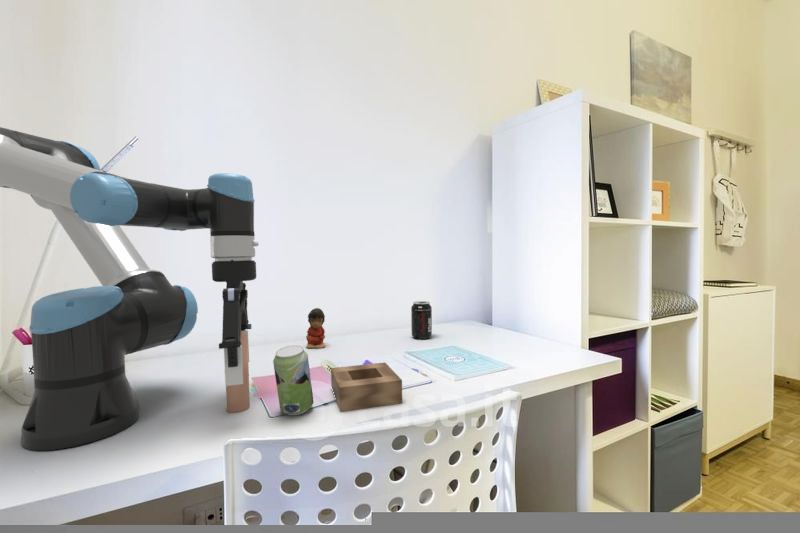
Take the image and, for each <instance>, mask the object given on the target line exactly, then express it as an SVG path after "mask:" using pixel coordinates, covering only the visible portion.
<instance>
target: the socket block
mask: <svg viewBox="0 0 800 533" xmlns="http://www.w3.org/2000/svg"><path fill="white" fill-rule="evenodd" d="M330 381H331V382H330V383H331V387H332V389H333V392H334V394H333V396H334V395H335V397H334V399H335V398H336V400H335V403H336V405H337V407H338V409H339V412H347V411H356V410H362V409H368V408H375V407H383V406H391V405H397V404H403V379H402V378H401V377H400V376H399V375H398V374H397V373H396V372H395V371H394V370H393V369H392V368H391V367H390V366H389V365H388V364H387V363H386V362H377V363H367V364H360V365H359V364H358V365H348V366H341V367H338V366H337V367H331V368H330ZM332 389H331V390H332ZM333 392H332V393H333Z"/></svg>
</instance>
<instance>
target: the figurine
mask: <svg viewBox="0 0 800 533" xmlns="http://www.w3.org/2000/svg"><path fill="white" fill-rule="evenodd" d="M325 318H326V317H325V314H324V311H323V310H322V309H321V308H319V307H316V308H313V309H311V310H310V311H309V313H308V314H307V321H308V323H309V325H310V326H309V327H308V329H307V331H306V333H307V335H306V336H305V339H306V341H307V344H306V345H305V348H307V349H324V348H326V345H325V343H324V340H325V339H326V335H325V332H326V331H325V328H324V326H323V325H324V323H325V321H326V319H325Z"/></svg>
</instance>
